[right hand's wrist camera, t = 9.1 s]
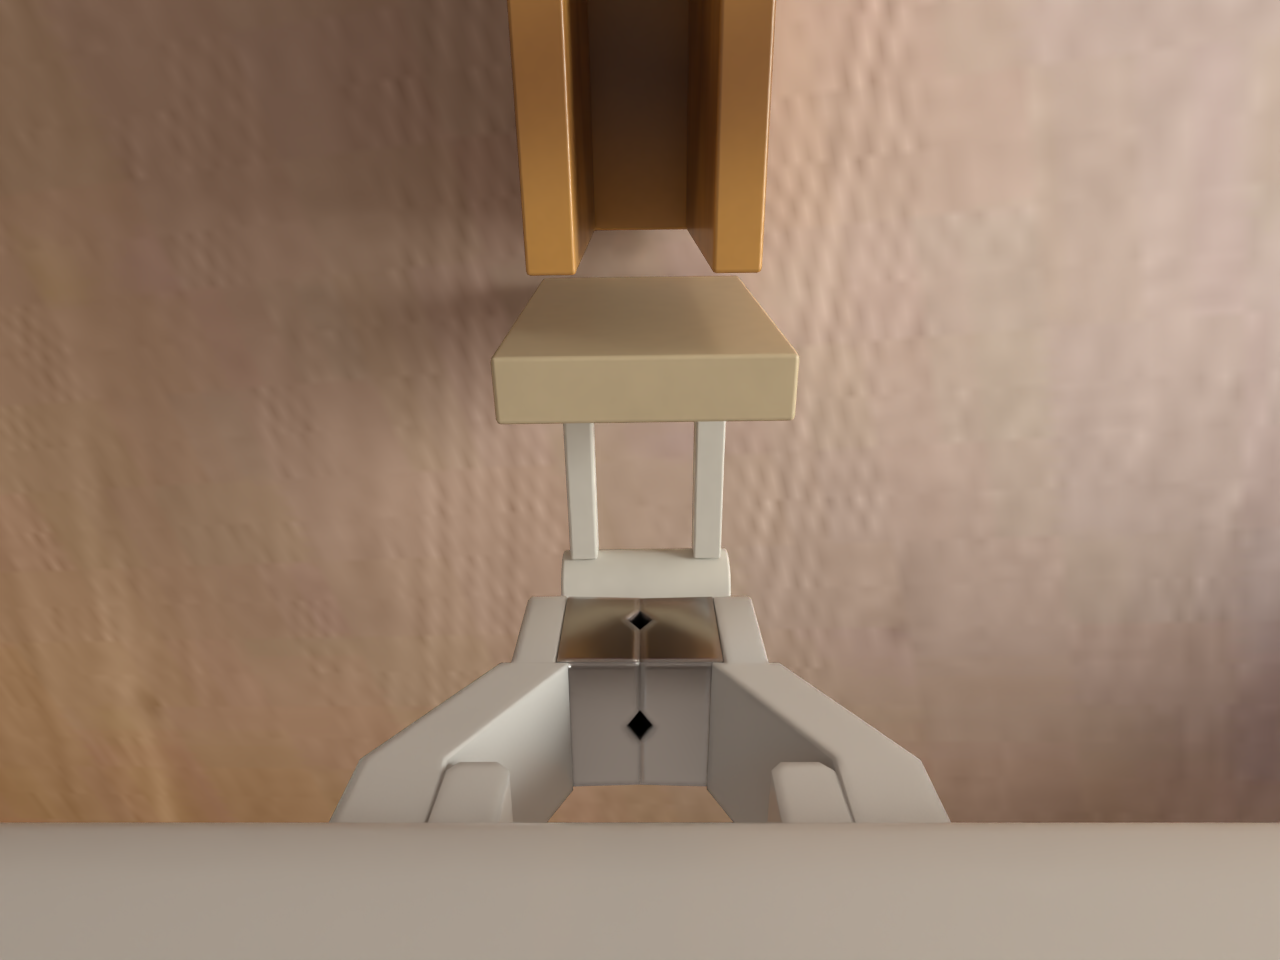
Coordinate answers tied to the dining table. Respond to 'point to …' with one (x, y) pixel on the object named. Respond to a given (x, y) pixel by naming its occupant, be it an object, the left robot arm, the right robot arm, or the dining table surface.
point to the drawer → (643, 306)
